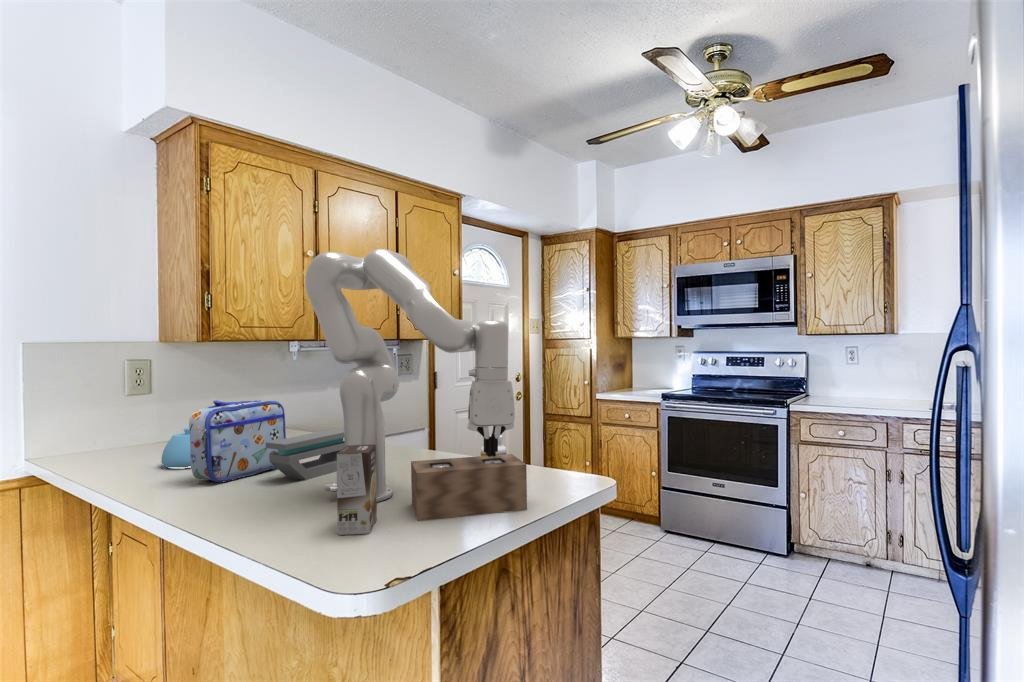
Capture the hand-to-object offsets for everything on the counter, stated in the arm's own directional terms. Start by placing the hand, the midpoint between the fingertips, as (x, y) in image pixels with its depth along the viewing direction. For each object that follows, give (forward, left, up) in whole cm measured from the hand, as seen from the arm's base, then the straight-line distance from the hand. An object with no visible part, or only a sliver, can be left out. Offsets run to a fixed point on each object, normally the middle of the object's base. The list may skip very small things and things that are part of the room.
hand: (490, 455), depth 128 cm
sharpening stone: (-41, +46, -12) cm, 63 cm away
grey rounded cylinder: (-11, 0, -11) cm, 16 cm away
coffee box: (-29, -6, -12) cm, 32 cm away
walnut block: (-5, 0, -11) cm, 13 cm away
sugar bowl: (-79, +72, -12) cm, 108 cm away
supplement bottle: (+5, +16, -12) cm, 20 cm away
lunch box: (-61, +51, -12) cm, 80 cm away
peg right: (+1, 0, -11) cm, 11 cm away
